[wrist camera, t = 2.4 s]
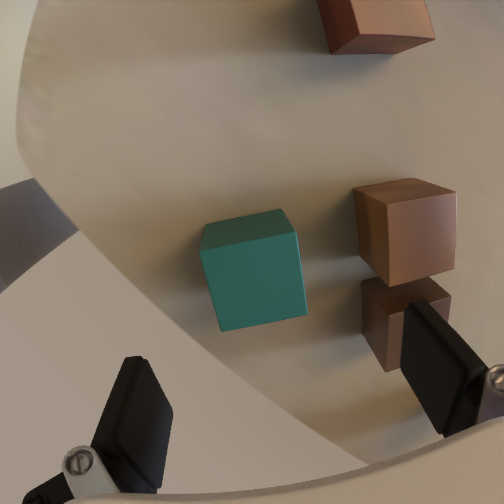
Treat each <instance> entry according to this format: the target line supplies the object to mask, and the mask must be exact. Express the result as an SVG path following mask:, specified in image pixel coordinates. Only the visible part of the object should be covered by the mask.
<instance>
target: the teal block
mask: <svg viewBox="0 0 504 504" xmlns="http://www.w3.org/2000/svg"><path fill="white" fill-rule="evenodd" d="M199 256H200V259H201V263H202V267H203V270H204V274H205V277H206V281H207V285H208V288H209V292H210V295H211V299H212V302H213V306H214V309H215V312H216V316H217V319H218V323H219V326H220V329H221V331H222V332H223V331H229V330H234V329H240V328H245V327H250V326H255V325H260V324H265V323H270V322H275V321H280V320H285V319H290V318H294V317H299V316H303V315H307V314H308V310H307V302H306V294H305V287H304V280H303V273H302V266H301V259H300V252H299V245H298V239H297V232H296V231H295V229H294V228H293V226H292V224H291V223H290V221H289V220H288V218H287V217H286V215H285V214H284V212H283V211H282V209H278V210H273V211H268V212H263V213H258V214H253V215H248V216H243V217H238V218H233V219H229V220H224V221H219V222H214V223H210V224H206V226H205V230H204V233H203V237H202V241H201V245H200V248H199Z"/></svg>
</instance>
